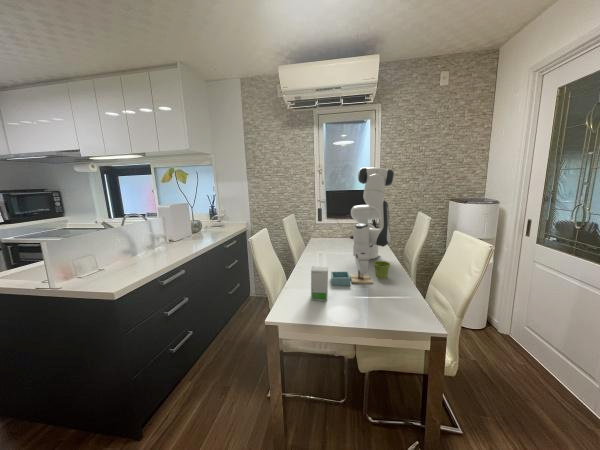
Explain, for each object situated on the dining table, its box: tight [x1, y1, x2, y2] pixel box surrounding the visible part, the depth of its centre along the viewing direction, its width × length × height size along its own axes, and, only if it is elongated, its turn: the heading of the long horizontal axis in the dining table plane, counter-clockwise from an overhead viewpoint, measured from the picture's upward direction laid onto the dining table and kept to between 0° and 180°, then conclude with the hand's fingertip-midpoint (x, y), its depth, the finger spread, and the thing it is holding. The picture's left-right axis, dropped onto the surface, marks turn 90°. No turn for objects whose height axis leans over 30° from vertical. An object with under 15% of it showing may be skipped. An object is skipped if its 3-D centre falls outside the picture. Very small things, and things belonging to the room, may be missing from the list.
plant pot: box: [373, 260, 391, 279], centre depth 148 cm, size 9×9×9 cm
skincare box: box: [310, 265, 329, 302], centre depth 125 cm, size 8×7×16 cm
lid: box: [349, 270, 374, 285], centre depth 145 cm, size 11×11×5 cm
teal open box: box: [330, 270, 351, 287], centre depth 143 cm, size 10×10×5 cm
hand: (360, 275), depth 145 cm, fingers closed on lid, 3 cm apart
